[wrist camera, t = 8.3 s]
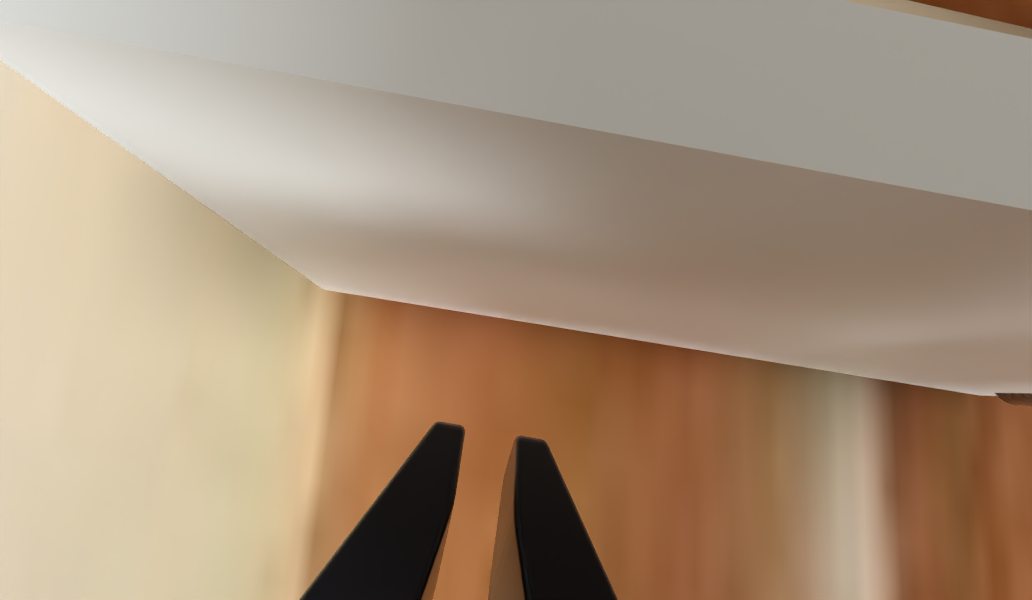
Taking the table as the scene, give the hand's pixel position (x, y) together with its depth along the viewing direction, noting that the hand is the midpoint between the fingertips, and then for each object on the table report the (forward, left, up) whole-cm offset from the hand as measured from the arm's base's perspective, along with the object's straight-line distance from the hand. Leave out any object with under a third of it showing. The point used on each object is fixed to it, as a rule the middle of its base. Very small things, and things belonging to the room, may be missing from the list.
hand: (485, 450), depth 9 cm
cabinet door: (+3, -4, -6) cm, 8 cm away
